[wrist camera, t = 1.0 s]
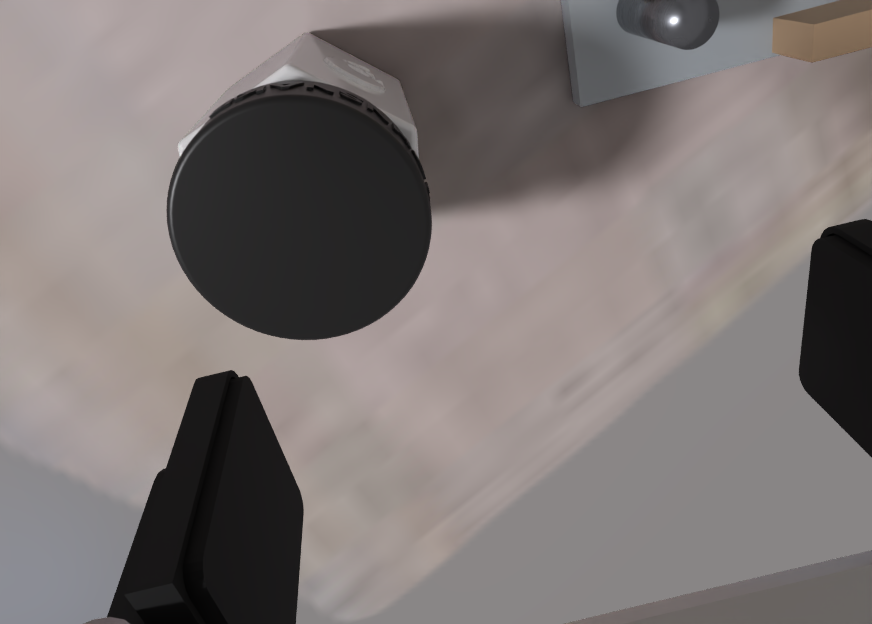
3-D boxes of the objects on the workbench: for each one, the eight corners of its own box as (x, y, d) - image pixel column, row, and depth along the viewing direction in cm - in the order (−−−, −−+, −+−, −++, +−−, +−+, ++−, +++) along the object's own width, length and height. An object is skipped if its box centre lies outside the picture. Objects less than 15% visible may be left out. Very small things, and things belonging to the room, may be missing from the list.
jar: (444, 97, 31) (492, 175, 20) (370, 245, 34) (378, 378, 23) (259, 0, 28) (202, 31, 17) (196, 170, 31) (116, 283, 20)
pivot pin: (614, -10, 28) (664, -2, 23) (659, -22, 28) (718, -17, 23) (618, 39, 29) (667, 55, 24) (662, 27, 29) (719, 42, 24)
